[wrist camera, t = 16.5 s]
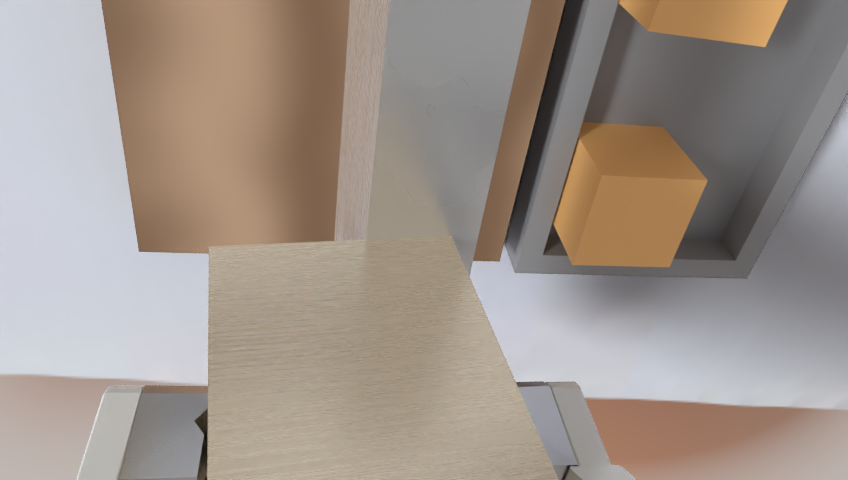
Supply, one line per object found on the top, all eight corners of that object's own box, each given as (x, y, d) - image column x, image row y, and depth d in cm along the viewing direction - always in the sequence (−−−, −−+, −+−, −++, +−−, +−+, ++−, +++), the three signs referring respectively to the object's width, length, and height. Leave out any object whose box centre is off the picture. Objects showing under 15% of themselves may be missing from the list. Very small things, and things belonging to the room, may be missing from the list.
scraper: (490, -189, 11) (866, -30, 4) (388, 442, 20) (464, 764, 14) (184, -231, 9) (131, -92, 3) (230, 461, 19) (239, 824, 13)
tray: (945, -188, 22) (994, -180, 20) (725, 251, 32) (746, 278, 31) (628, -240, 20) (654, -237, 18) (504, 244, 31) (514, 272, 29)
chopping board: (586, -206, 20) (615, -198, 18) (487, 225, 30) (499, 261, 28) (87, -283, 18) (58, -283, 16) (151, 213, 27) (139, 251, 25)
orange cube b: (663, 127, 27) (707, 180, 24) (632, 208, 30) (669, 267, 26) (568, 121, 27) (602, 175, 23) (545, 205, 29) (572, 265, 26)
